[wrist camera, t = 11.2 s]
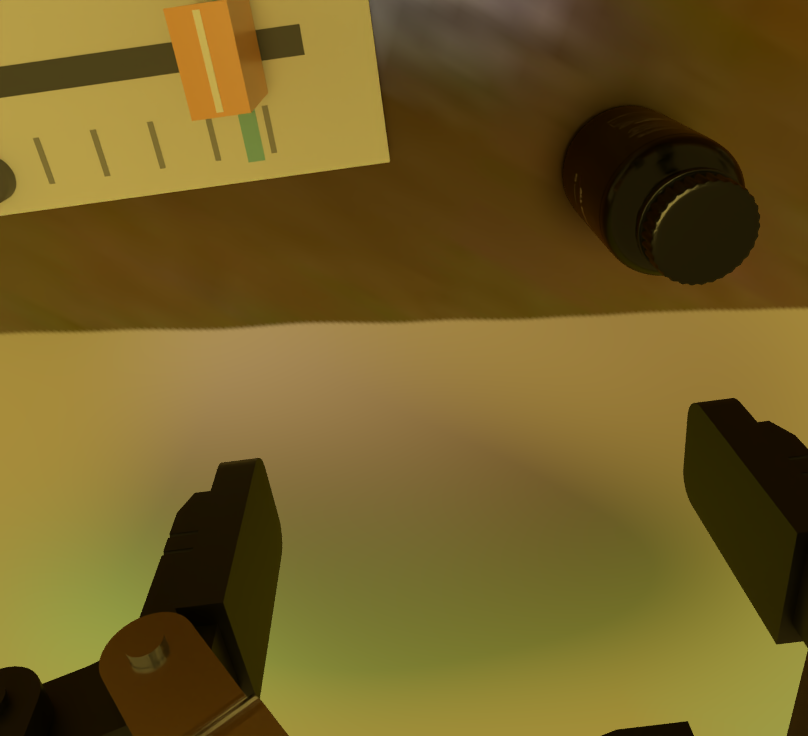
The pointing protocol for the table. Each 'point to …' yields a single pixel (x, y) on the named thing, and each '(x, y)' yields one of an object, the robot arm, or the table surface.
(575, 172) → the supplement bottle
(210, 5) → the fader cap
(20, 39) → the console
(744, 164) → the table surface
